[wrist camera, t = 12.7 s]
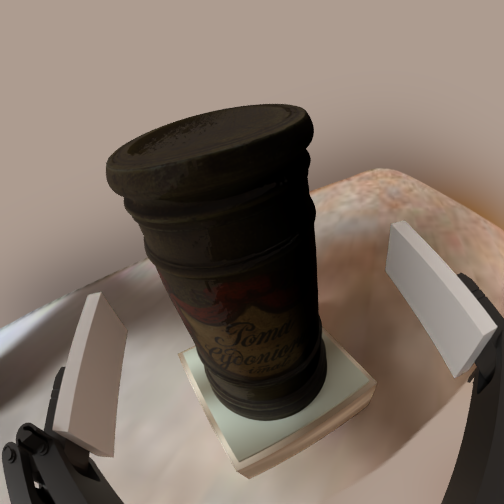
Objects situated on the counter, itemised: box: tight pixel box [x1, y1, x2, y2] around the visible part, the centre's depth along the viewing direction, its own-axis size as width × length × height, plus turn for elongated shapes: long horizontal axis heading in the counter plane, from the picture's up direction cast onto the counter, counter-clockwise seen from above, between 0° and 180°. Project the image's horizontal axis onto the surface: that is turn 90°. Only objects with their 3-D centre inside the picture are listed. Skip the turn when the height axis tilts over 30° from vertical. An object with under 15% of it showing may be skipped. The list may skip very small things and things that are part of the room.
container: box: [106, 104, 327, 421], centre depth 16 cm, size 9×9×18 cm
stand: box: [178, 327, 377, 479], centre depth 23 cm, size 12×12×5 cm
